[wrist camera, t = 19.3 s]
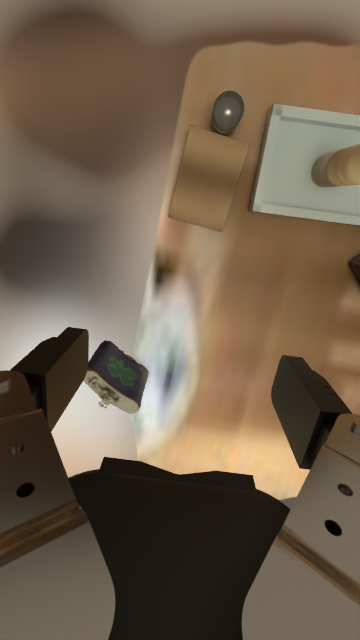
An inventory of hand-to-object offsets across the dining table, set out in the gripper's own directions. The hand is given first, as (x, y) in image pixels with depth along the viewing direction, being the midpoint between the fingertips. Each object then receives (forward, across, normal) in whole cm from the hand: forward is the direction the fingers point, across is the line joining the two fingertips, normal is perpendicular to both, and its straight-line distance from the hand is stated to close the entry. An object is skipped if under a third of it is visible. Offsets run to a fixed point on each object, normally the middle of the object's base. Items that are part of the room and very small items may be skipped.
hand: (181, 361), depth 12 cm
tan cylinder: (+29, -15, -12) cm, 35 cm away
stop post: (+30, -2, -16) cm, 34 cm away
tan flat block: (+30, -1, -9) cm, 32 cm away
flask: (+30, +8, +18) cm, 36 cm away
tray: (+30, -15, -12) cm, 36 cm away
